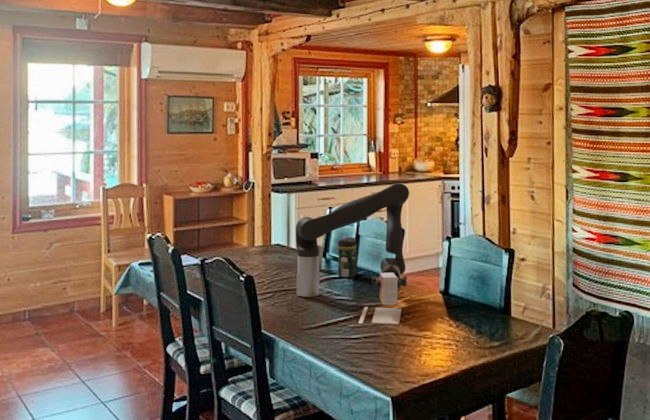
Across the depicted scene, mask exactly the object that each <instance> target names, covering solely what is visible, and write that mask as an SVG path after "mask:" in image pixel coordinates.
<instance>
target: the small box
mask: <svg viewBox="0 0 650 420" xmlns="http://www.w3.org/2000/svg"><path fill="white" fill-rule="evenodd" d="M379 277H380V287H379V300H380V302H381V303H382V305H383V306H385V305H398V289H397V284H398V278H397V277H396V275H395V274H394V273H382V272H379Z"/></svg>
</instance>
